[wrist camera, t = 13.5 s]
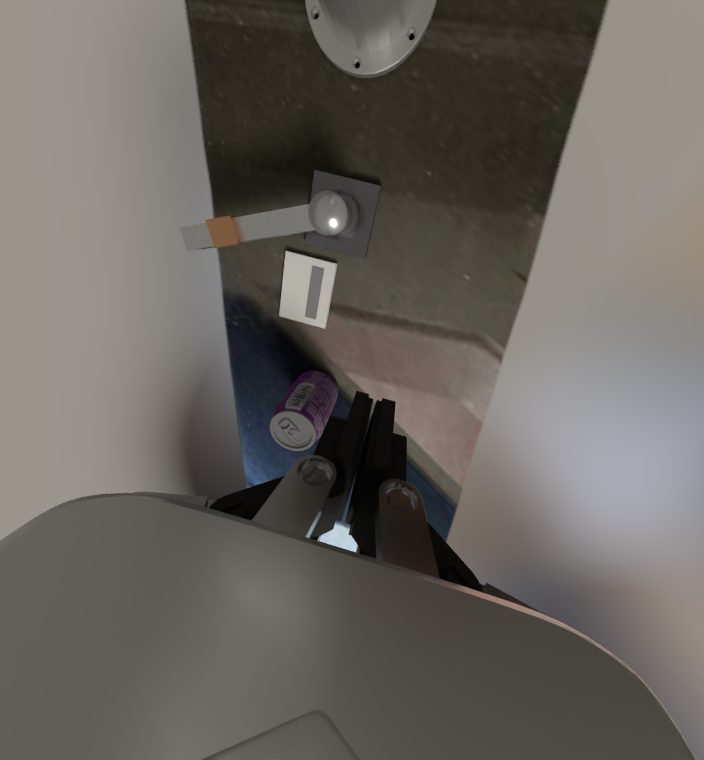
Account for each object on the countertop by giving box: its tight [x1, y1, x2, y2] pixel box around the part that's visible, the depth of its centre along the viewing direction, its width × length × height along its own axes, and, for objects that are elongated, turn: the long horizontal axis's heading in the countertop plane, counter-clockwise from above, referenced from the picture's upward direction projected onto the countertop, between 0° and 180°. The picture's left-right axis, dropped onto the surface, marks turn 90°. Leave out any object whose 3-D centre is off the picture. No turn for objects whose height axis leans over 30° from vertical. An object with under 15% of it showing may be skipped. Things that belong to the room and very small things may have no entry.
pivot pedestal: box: [305, 170, 381, 259], centre depth 36 cm, size 8×8×4 cm
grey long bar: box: [180, 191, 352, 251], centre depth 34 cm, size 20×4×4 cm, turn 98°
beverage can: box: [270, 371, 338, 451], centre depth 44 cm, size 7×7×12 cm
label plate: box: [279, 251, 337, 328], centre depth 42 cm, size 9×7×1 cm
